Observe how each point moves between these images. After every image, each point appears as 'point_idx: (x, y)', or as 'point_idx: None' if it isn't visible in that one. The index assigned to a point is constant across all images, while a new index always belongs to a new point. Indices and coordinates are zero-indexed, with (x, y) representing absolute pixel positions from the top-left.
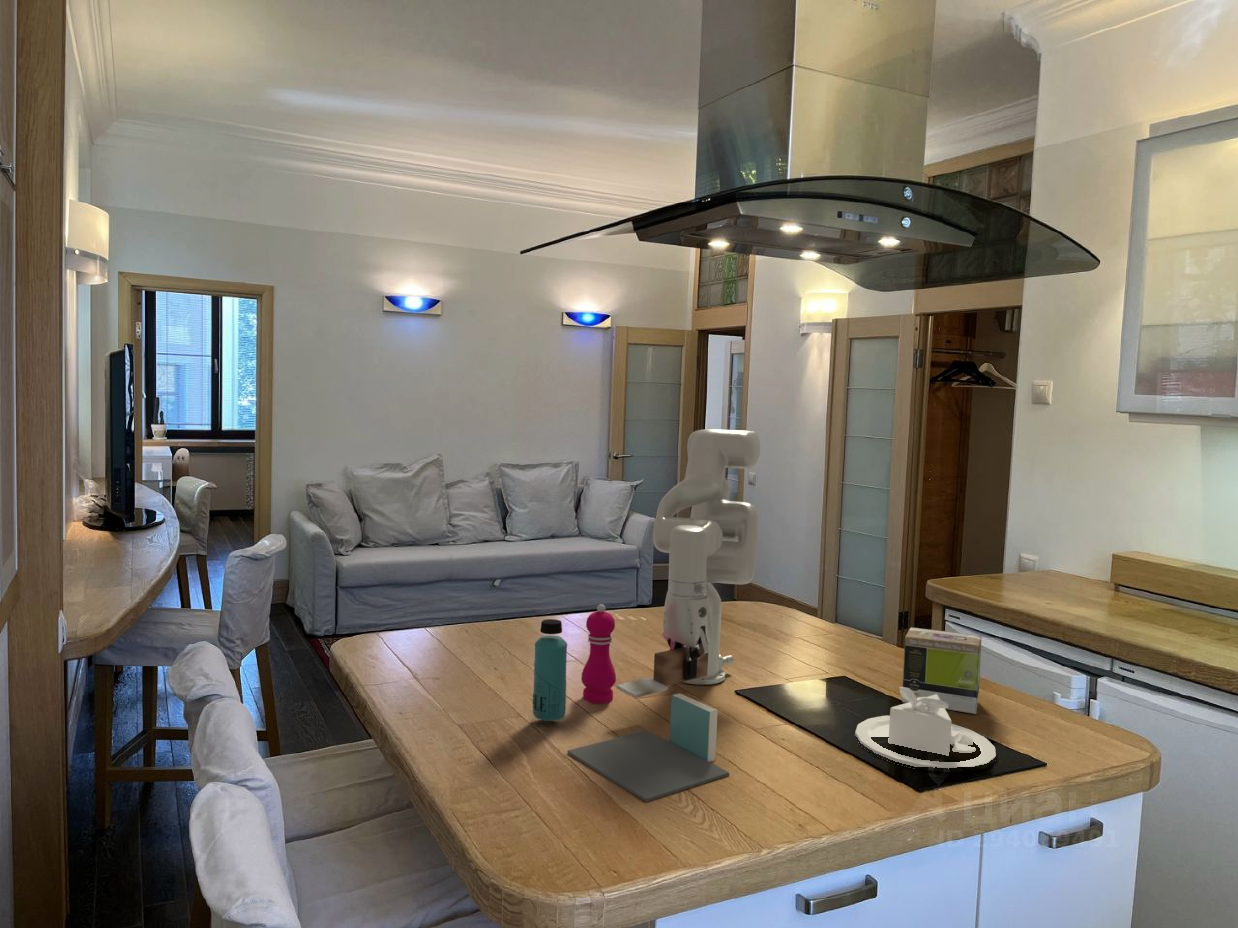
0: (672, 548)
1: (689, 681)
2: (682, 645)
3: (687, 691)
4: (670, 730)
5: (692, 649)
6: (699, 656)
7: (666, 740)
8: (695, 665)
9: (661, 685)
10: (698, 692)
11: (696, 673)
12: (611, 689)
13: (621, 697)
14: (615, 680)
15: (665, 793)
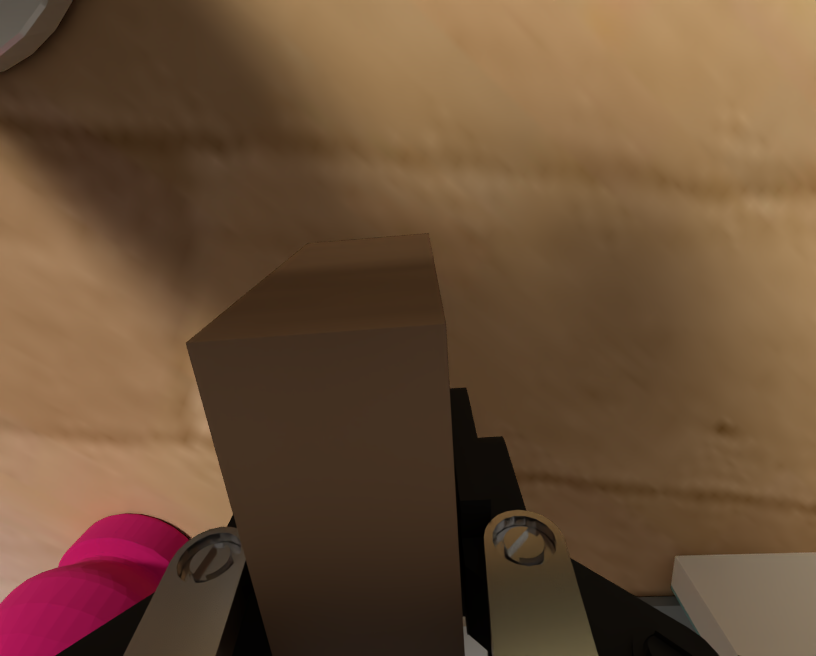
0: None
1: (37, 36)
2: (233, 640)
3: (168, 140)
4: (699, 635)
5: (409, 588)
6: (616, 592)
7: (670, 607)
8: (518, 496)
9: (470, 639)
10: (204, 84)
11: (468, 398)
12: (130, 550)
13: (157, 483)
14: (130, 601)
15: None
